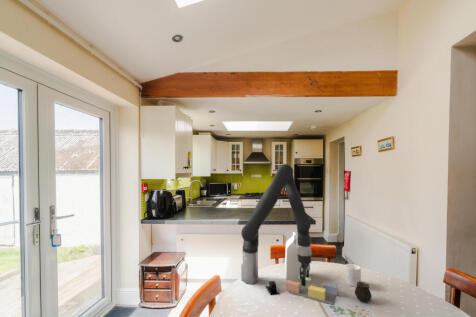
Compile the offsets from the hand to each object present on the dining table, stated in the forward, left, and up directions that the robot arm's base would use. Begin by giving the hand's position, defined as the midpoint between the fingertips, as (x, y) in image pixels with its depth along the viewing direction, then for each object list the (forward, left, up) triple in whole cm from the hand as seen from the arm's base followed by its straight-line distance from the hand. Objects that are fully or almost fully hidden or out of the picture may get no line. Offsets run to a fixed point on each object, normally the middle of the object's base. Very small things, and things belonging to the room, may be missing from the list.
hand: (305, 282), depth 124 cm
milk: (-8, +9, -3) cm, 13 cm away
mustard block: (+8, -8, -2) cm, 11 cm away
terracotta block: (-5, -8, -2) cm, 10 cm away
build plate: (-15, -13, -3) cm, 20 cm away
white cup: (+24, +16, -3) cm, 29 cm away
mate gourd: (+29, +1, -3) cm, 29 cm away
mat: (+5, -5, -2) cm, 7 cm away
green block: (0, 0, -2) cm, 2 cm away
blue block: (+13, -1, -2) cm, 13 cm away
